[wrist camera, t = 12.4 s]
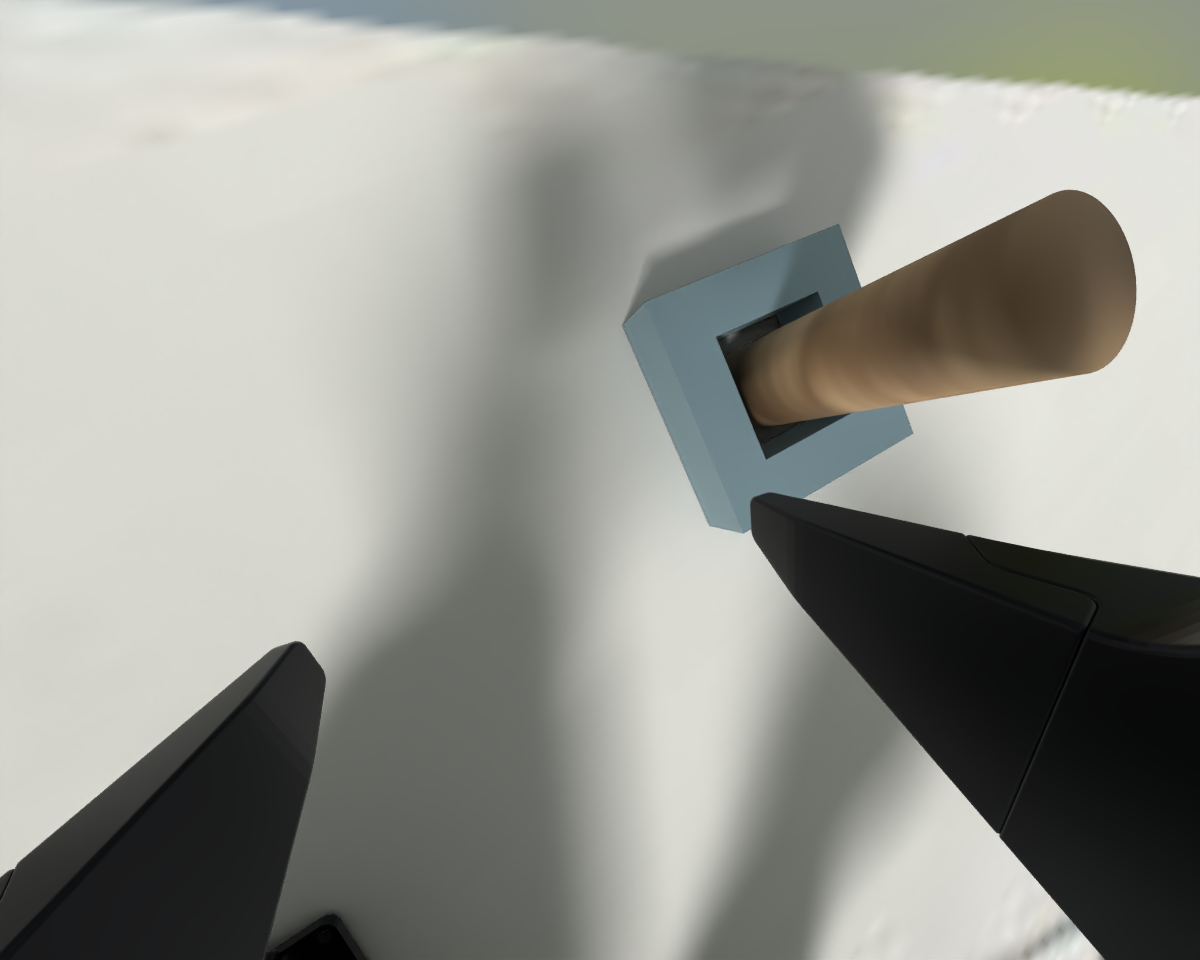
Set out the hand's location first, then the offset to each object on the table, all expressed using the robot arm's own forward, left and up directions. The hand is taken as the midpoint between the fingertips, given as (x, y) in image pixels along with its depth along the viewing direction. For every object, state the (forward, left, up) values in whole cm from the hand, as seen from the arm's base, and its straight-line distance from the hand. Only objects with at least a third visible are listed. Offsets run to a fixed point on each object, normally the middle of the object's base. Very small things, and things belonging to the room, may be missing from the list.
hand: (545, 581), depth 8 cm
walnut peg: (+1, -14, -12) cm, 18 cm away
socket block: (+1, -14, -12) cm, 19 cm away
